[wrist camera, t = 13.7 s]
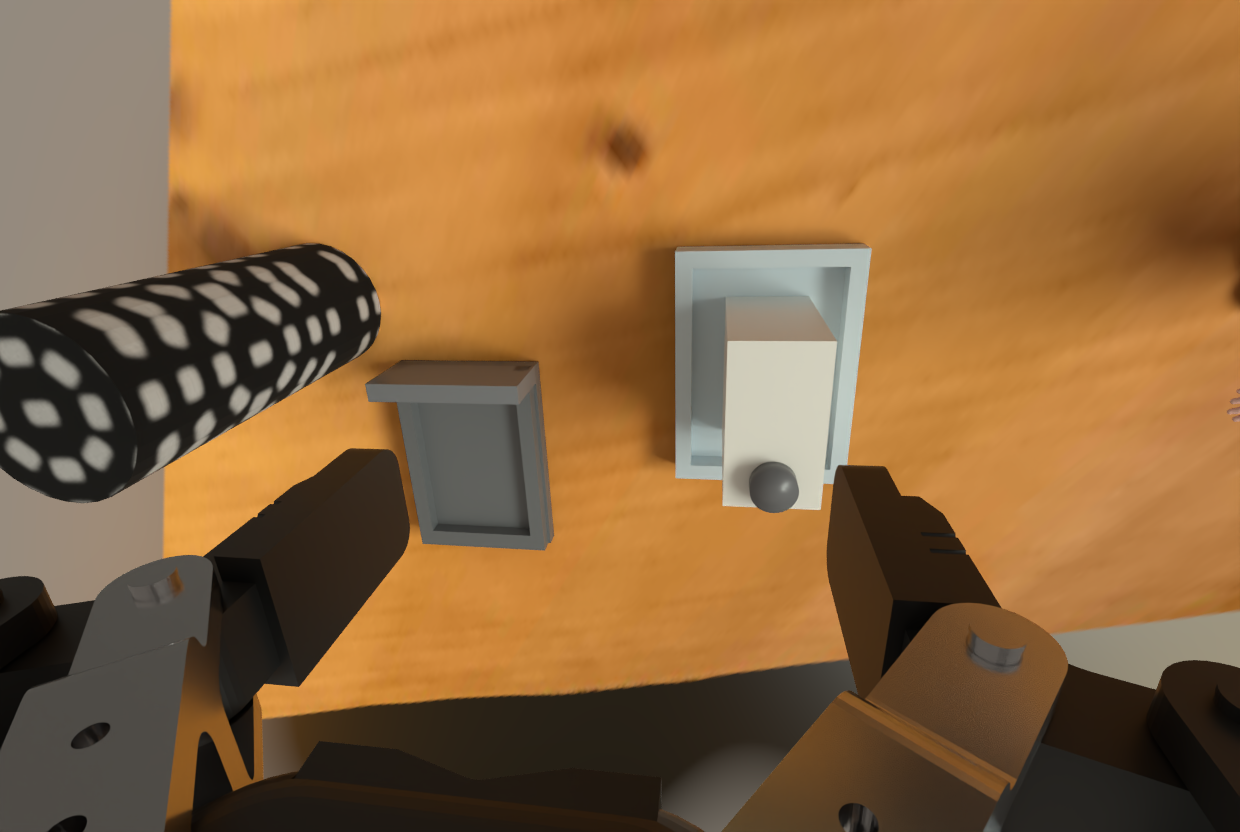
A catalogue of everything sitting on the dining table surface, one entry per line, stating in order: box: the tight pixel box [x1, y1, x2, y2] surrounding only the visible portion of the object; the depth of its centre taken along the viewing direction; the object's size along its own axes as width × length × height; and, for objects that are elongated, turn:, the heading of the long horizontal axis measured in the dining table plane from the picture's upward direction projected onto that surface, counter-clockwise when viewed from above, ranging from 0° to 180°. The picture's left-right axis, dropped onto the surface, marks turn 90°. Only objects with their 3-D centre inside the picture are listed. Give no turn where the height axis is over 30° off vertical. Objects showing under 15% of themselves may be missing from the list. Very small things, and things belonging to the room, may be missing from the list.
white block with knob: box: [722, 296, 837, 513], centre depth 35 cm, size 9×5×11 cm, turn 2°
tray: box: [675, 243, 872, 484], centre depth 40 cm, size 15×11×2 cm
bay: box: [365, 360, 554, 550], centre depth 44 cm, size 14×10×5 cm
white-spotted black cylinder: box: [0, 243, 381, 503], centre depth 35 cm, size 8×8×20 cm
